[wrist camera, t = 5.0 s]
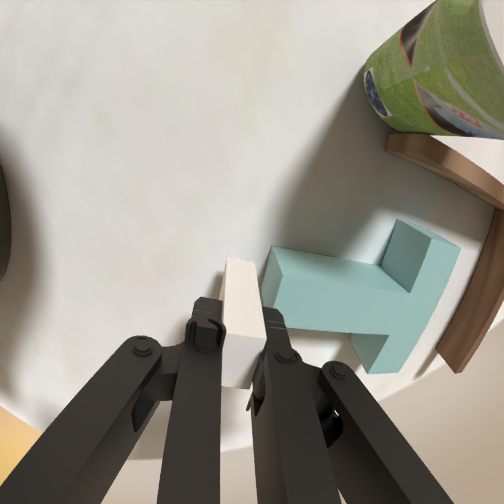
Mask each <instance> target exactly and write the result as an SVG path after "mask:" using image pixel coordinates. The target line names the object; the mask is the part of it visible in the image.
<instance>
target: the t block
mask: <svg viewBox="0 0 504 504" xmlns="http://www.w3.org/2000/svg"><path fill="white" fill-rule="evenodd" d="M460 250H461V248H460V247H458V246H457V245H455V244H453V243H452V242H450V241H448V240H446V239H445V238H443V237H441V236H439V235H438V234H436V233H434V232H432V231H430V230H429V229H427V228H424V227H421V226H418V225H415V224H412V223H409V222H406V221H402V220H399V219H397V221H396V224H395V227H394V230H393V233H392V236H391V239H390V242H389V245H388V248H387V251H386V253H385V256H384V259H383V261H382V264H381V266H378V265H373V264H368V263H363V262H358V261H353V260H347V259H342V258H337V257H331V256H326V255H321V254H316V253H310V252H305V251H299V250H294V249H289V248H283V247H278V246H272V247H271V250H270V254H269V258H268V262H267V266H266V270H265V274H264V278H263V282H262V286H261V292H262V298H263V303H264V307H269V308H276V309H278V310H279V312H280V313H281V314H282V315H283V318H284V321H285V325H286V327H288V328H297V329H308V330H319V331H331V332H345V333H352V334H351V336H350V338H349V341H350V343H351V345H352V347H353V348H354V350H355V352H356V354H357V356H358V358H359V360H360V362H361V364H362V365H363V367H364V369H365V371H366V373H367V374H382V373H398V372H399V371H400V369H401V368H402V366H403V365H404V363H405V362H406V360H407V358H408V357H409V355H410V353H411V352H412V350H413V348H414V347H415V345H416V343H417V342H418V340H419V338H420V336H421V335H422V333H423V331H424V329H425V327H426V325H427V324H428V322H429V320H430V318H431V316H432V314H433V312H434V310H435V308H436V306H437V304H438V302H439V300H440V298H441V296H442V293H443V291H444V289H445V287H446V285H447V282H448V280H449V278H450V275H451V273H452V270H453V268H454V265H455V263H456V260H457V258H458V255H459V252H460Z"/></svg>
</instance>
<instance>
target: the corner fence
mask: <svg viewBox="0 0 504 504" xmlns="http://www.w3.org/2000/svg"><path fill="white" fill-rule="evenodd" d="M385 151H386V152H389V153H391V154H394V155H396V156H398V157H401V158H403V159H405V160H408V161H410V162H412V163H414V164H416V165H419V166H421V167H423V168H425V169H427V170H429V171H431V172H433V173H435V174H437V175H439V176H441V177H443V178H445V179H447V180H449V181H451V182H452V183H454V184H456V185H458V186H460V187H462V188H463V189H465V190H467V191H469V192H470V193H472V194H474V195H475V196H477V197H479V198H481V199H482V200H484V201H485V202H487V203H489V204H490V205H492V206H493V207H495V208H496V209H495V213H494V217H493V220H492V224H491V227H490V230H489V233H488V236H487V239H486V242H485V245H484V248H483V251H482V254H481V256H480V259H479V262H478V264H477V267H476V269H475V272H474V274H473V276H472V279H471V281H470V283H469V286H468V288H467V290H466V292H465V294H464V297H463V299H462V301H461V303H460V305H459V307H458V309H457V311H456V313H455V315H454V317H453V319H452V321H451V322H450V324H449V326H448V328H447V330H446V332H445V333H444V335H443V337H442V339H441V340H440V342H439V344H438V345H437V347H436V350H437V352H438V353H439V354H440V355H441V357H442V358H443V359H444V360H445V362H446V363H447V364H448V365H449V367H450V368H451V369H452V371H453V372H454V373H461V372H462V371H463V369H464V368H465V366H466V365H467V364H468V362H469V361H470V359H471V358H472V356H473V354H474V353H475V351H476V350H477V348H478V346H479V345H480V343H481V341H482V340H483V338H484V336H485V335H486V333H487V331H488V329H489V328H490V326H491V324H492V322H493V320H494V318H495V316H496V314H497V312H498V310H499V308H500V306H501V304H502V302H503V300H504V185H503V184H502V183H501V182H499V181H498V180H497V179H495V178H494V177H493V176H491V175H490V174H489V173H487V172H486V171H485V170H483V169H482V168H480V167H479V166H478V165H476V164H475V163H473V162H472V161H470V160H469V159H467V158H466V157H464V156H463V155H461V154H460V153H458V152H457V151H455V150H453V149H452V148H450V147H448V146H447V145H445V144H443V143H442V142H440V141H438V140H437V139H435V138H433V137H431V136H430V135H428V134H407V133H389V134H388V139H387V143H386V148H385Z"/></svg>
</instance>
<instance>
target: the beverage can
mask: <svg viewBox="0 0 504 504" xmlns="http://www.w3.org/2000/svg"><path fill="white" fill-rule="evenodd" d="M363 84H364V90H365V93H366V96H367V98H368V100H369V102H370V104H371V106H372V108H373V109H374V111H375V112H376V113H377V115H378V116H379V117H380V118H381V119H382V120H383V121H384V122H385V123H386V124H388V125H389V126H390V127H392V128H394V129H395V130H397V131H400V132H402V133H407V134H428V135H440V136H464V137H478V138H489V139H499V140H504V0H436V1H435V2H433V3H432V4H431V5H429V6H428V7H427V8H426V9H424V10H423V11H422V12H421V13H419V14H418V15H417V16H416V17H414V18H413V19H412V20H411V21H409V22H408V23H407V24H406V25H405V26H403V27H402V28H401V29H400V30H399V31H397V32H396V33H395V34H394V35H393V36H392V37H390V38H389V39H388V40H387V41H386V42H385V43H383V44H382V45H381V46H380V47H379V48H378V49H377V50H375V51H374V52H373V53H372V54H371V55H370V57H369V58H368V59H367V62H366V64H365V66H364V71H363Z"/></svg>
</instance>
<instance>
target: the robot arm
mask: <svg viewBox="0 0 504 504" xmlns="http://www.w3.org/2000/svg"><path fill="white" fill-rule="evenodd" d="M9 252H10V214H9V205H8V198H7V192H6V187H5V182H4V177H3V173H2V170H1V166H0V280H1V279H2V277H3V275H4V273H5V270H6V267H7V264H8V259H9ZM252 383H253V391H252V394H251V397H250V399H249V402H248V405H247V408H246V411H249V409H250V406H251V421H252V435H253V449H254V462H255V475H256V488H257V500H258V504H342V503H341V499H340V495H339V492H338V489H339V491H340V493H341V494H342V496H343V498H344V500H345V501H346V503H347V504H454V503H453V502H452V500H451V499H450V498H449V496H448V495H447V494H446V492H445V491H444V490H443V488H442V487H441V485H440V484H439V483H438V482H437V480H436V479H435V478H434V476H433V475H432V474H431V473H430V471H429V470H428V468H427V467H426V466H425V464H424V463H423V462H422V460H421V459H420V458H419V456H418V455H417V454H416V452H415V451H414V450H413V448H412V447H411V446H410V445H409V443H408V442H407V440H406V439H405V438H404V437H403V435H402V434H401V433H400V431H399V430H398V429H397V428H396V426H395V425H394V423H393V422H392V421H391V419H390V418H389V417H388V416H387V414H386V413H385V412H384V410H383V409H382V408H381V406H380V405H379V404H378V403H377V401H376V400H375V399H374V397H373V396H372V395H371V393H370V392H369V391H368V389H367V388H366V387H365V386H364V384H363V383H362V382H361V380H360V379H359V378H358V377H357V375H356V374H355V373H354V371H353V370H352V369H351V368H350V367H349V366H347V365H346V364H344V363H341V362H338V361H329V362H326V363H325V364H324V365H323V366H322V368H319V367H315V366H312V365H309V364H306V363H304V362H303V361H302V358H301V356H300V354H299V353H298V352H297V351H295V350H294V349H292V347H291V344H290V340H289V336H288V333H287V330H286V325H285V321H284V318H283V315H282V314H281V313H280V312H279V310H278V309H276V308H269V307H263V306H261V300H260V294H259V288H258V282H257V276H256V270H255V263H254V262H250V261H244V260H239V259H234V258H228V257H227V261H226V266H225V271H224V276H223V281H222V286H221V291H220V296H219V300H216V299H211V298H205V297H200V298H199V299H198V300H196V301H195V303H194V308H193V312H192V316H191V319H189V321H188V322H187V324H186V333H185V340H184V342H182V343H181V344H179V345H176V346H170V347H161V345H160V344H159V343H158V341H156V340H155V339H153V338H151V337H147V336H134V337H130V338H129V339H127V340H126V341H125V342H124V343H123V344H122V345H121V346H120V347H119V348H118V349H117V350H116V351H115V353H114V354H113V355H112V356H111V357H110V358H109V359H108V360H107V361H106V362H105V363H104V365H103V366H102V367H101V368H100V369H99V370H98V371H97V372H96V373H95V374H94V376H93V377H92V378H91V379H90V380H89V381H88V382H87V383H86V384H85V386H84V387H83V388H82V389H81V390H80V391H79V392H78V393H77V395H76V396H75V397H74V398H73V399H72V400H71V401H70V403H69V404H68V405H67V406H66V407H65V408H64V409H63V411H62V412H61V413H60V414H59V415H58V416H57V418H56V419H55V420H54V421H53V422H52V423H51V425H50V426H49V427H48V428H47V429H46V430H45V432H44V433H43V434H42V435H41V436H40V438H39V439H38V440H37V441H36V442H35V444H34V445H33V446H32V447H31V449H30V450H29V451H28V452H27V453H26V455H25V456H24V457H23V458H22V460H21V461H20V462H19V463H18V465H17V466H16V467H15V468H14V469H13V471H12V472H11V473H10V475H9V476H8V477H7V479H6V480H5V481H4V482H3V484H2V485H1V486H0V504H101V502H102V500H103V499H104V497H105V495H106V493H107V492H108V490H109V488H110V487H111V485H112V483H113V481H114V480H115V478H116V476H117V475H118V473H119V471H120V470H121V468H122V466H123V465H124V463H125V461H126V459H127V458H128V456H129V454H130V453H131V451H132V449H133V448H134V446H135V444H136V442H137V441H138V439H139V437H140V436H141V434H142V432H143V431H144V429H145V427H146V426H147V424H148V422H149V420H150V419H151V417H152V415H153V414H154V412H155V410H156V409H157V407H158V405H159V404H160V401H169V400H173V401H172V407H171V412H170V418H169V424H168V429H167V435H166V441H165V448H164V454H163V460H162V467H161V474H160V481H159V489H158V497H157V504H220V424H221V386H224V387H232V388H240V389H250V386H251V384H252ZM335 410H336V412H337V413H338V415H339V416H338V415H337V414H336V413H335Z"/></svg>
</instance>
